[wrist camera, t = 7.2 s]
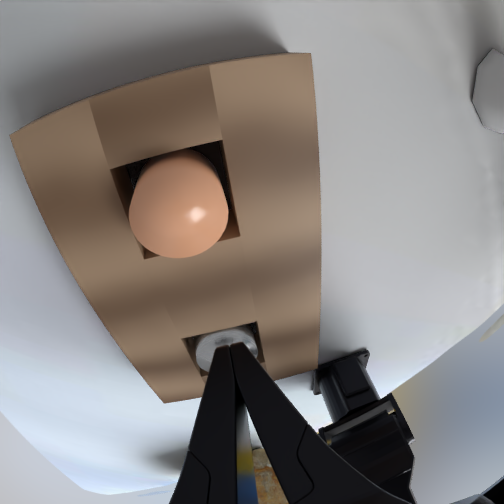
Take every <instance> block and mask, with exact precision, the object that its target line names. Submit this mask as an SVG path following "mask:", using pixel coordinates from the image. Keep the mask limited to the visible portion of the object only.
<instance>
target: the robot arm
mask: <svg viewBox="0 0 504 504" xmlns="http://www.w3.org/2000/svg"><path fill="white" fill-rule="evenodd" d="M369 356H370V353H369V351H368V350H365V351H362V352H360V353H357V354H354V355H351V356H348V357H345V358H342V359H339V360H336V361H333V362H330V363H327V364H324V365H321V366H318V368H317V369H314V383H313V393H314V395H319V394H322V396H323V398H324V401H325V404H326V406H327V409H328V411H329V414H330V416H331V419H332V422H333V423H332V424H330V425H328V426H326V427H322V428H320V429H318V430H319V434H317V433H316V432H315V430H314V429H313V428H312V427H311V426H310V425H309V424H308V422H307V421H306V420H305V419H304V418H303V416H302V415H301V414H300V413H299V412H298V410H297V409H296V408H295V407H294V405H293V404H292V403H291V402H290V401H289V399H288V398H287V397H286V396H285V394H284V393H283V392H282V391H281V389H280V388H279V387H278V386H277V384H276V383H275V382H274V381H273V379H272V378H271V377H270V376H269V374H268V373H267V372H266V370H265V369H264V368H263V367H262V365H261V364H260V363H259V361H258V360H257V359H256V358H255V356H254V355H253V354H252V352H251V351H250V350H249V348H248V347H247V346H246V344H245V343H244V342H242V341H241V342H236V343H232V344H231V345H230V346H229V345H223V346H219V347H216V349H215V351H214V355H213V358H212V362H211V365H210V369H209V373H208V376H207V380H206V384H205V387H204V391H203V395H202V398H201V402H200V406H199V409H198V413H197V417H196V420H195V424H194V428H193V431H192V435H191V439H190V443H189V446H188V451H187V453H186V457H185V461H184V464H183V467H182V471H181V474H180V477H179V480H178V482H177V485H176V488H175V490H174V493H173V495H172V498H171V500H170V502H169V504H259V503H258V496H257V488H256V480H255V473H254V465H253V457H252V449H251V441H250V433H249V424H248V416H247V410H248V412H249V415H250V417H251V420H252V422H253V424H254V427H255V429H256V432H257V434H258V436H259V439H260V441H261V443H262V446H263V448H264V450H265V453H266V455H267V457H268V460H269V462H270V464H271V466H272V469H273V471H274V473H275V475H276V477H277V480H278V482H279V484H280V486H281V488H282V490H283V493H284V495H285V497H286V499H287V501H288V503H289V504H417V501H416V499H415V497H414V494H413V492H412V489H411V487H410V485H411V480H412V475H413V469H414V463H415V457H414V455H413V453H412V451H411V449H410V446H409V445H410V444H411V443H413V442H415V439H414V437H413V434H412V433H411V430H410V428H409V426H408V424H407V422H406V420H405V418H404V416H403V414H402V412H401V410H400V408H399V407H398V404H397V402H396V401H395V399H394V397H393V395H392V393H389V394H387V396H385V397H384V398H382V399H380V397H379V395H378V393H377V391H376V389H375V387H374V385H373V383H372V381H371V379H370V377H369V375H368V373H367V371H366V366H367V362H368V359H369ZM246 407H247V409H246ZM393 409H394V411H395V412H393V413H391V414H388V412H390V411H391V410H393ZM451 504H504V476H503V477H502V478H500V479H499V480H498V481H497V482H495V483H494V484H493V485H492V486H490V487H489V488H488V489H486V490H485V491H484V492H482V493H481V494H478V495H473V496H471V497H468V498H466V499H463V500H460V501H457V502H454V503H451Z"/></svg>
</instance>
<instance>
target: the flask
mask: <svg viewBox="0 0 504 504" xmlns="http://www.w3.org/2000/svg"><path fill="white" fill-rule="evenodd" d="M472 102H473V104H474V106H475V108H476V110H477V113H478V115H479V117H480V119H481V122H482V124H483V126H484V127H485V128H487V129H490V130H493V131H495V132H498V133H500V134H504V55H502V54H501V53H499V52H498V51H496V50H494V49H493V48H492V50H491V51H490V52H489V53H488V55H487V56H486V57H485V58H484V60H483V61H482V62H481V63H480V65H479V66H478V68H477V75H476V82H475V88H474V94H473V100H472Z"/></svg>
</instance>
